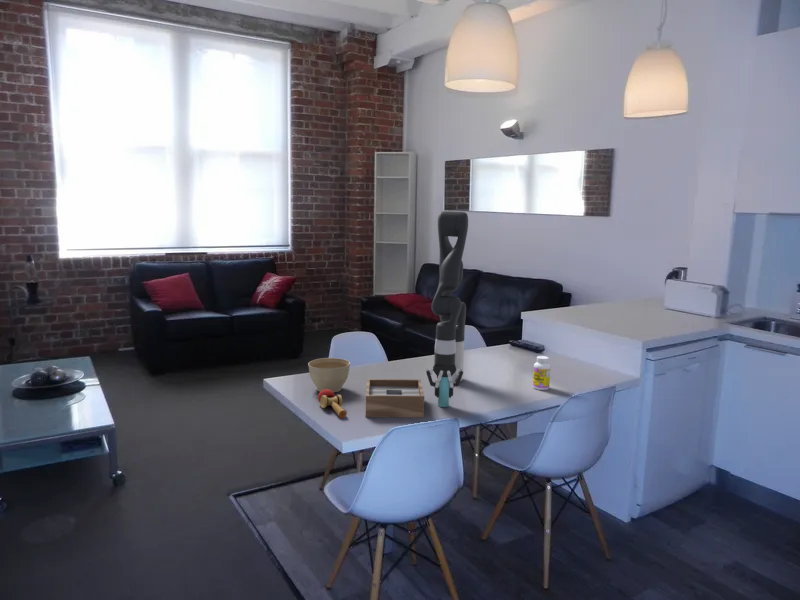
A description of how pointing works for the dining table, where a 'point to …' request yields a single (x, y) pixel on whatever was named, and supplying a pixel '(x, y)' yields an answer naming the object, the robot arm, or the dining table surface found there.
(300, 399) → the dining table surface
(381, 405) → the bore box
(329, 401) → the kendama
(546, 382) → the supplement bottle
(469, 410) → the dining table surface
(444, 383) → the peg
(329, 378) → the planter bowl
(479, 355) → the dining table surface
